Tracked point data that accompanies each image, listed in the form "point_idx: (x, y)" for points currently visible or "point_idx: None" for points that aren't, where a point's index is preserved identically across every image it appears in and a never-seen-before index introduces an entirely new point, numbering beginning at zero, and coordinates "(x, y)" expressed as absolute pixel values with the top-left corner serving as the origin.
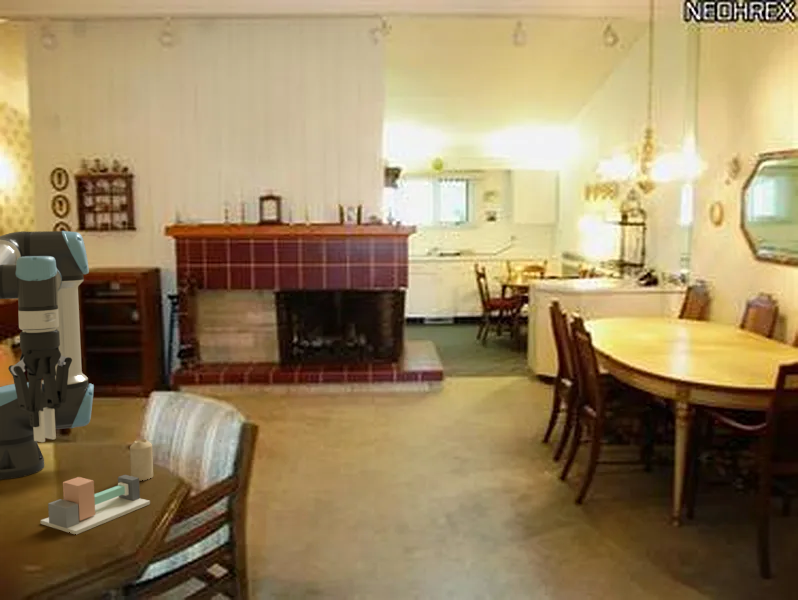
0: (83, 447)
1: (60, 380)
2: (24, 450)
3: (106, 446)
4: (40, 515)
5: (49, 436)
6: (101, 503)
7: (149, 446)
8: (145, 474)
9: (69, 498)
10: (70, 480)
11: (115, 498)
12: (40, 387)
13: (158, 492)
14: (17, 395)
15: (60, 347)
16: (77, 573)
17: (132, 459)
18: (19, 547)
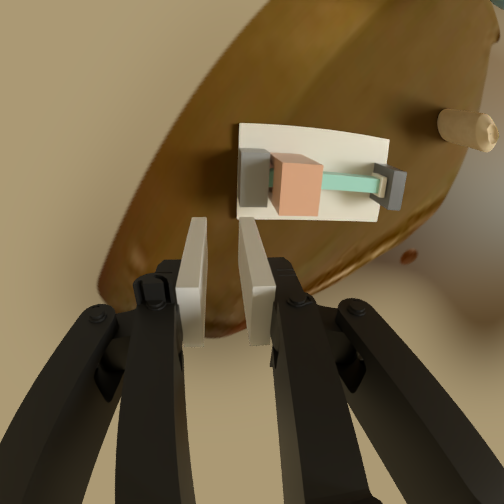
0: None
1: (393, 449)
2: None
3: (486, 4)
4: (266, 88)
5: (239, 249)
6: (343, 156)
7: (486, 151)
8: (448, 140)
9: (274, 176)
10: (298, 168)
11: (368, 162)
12: (189, 474)
13: (413, 194)
14: (41, 379)
15: None
16: None
17: (461, 123)
18: (159, 183)
